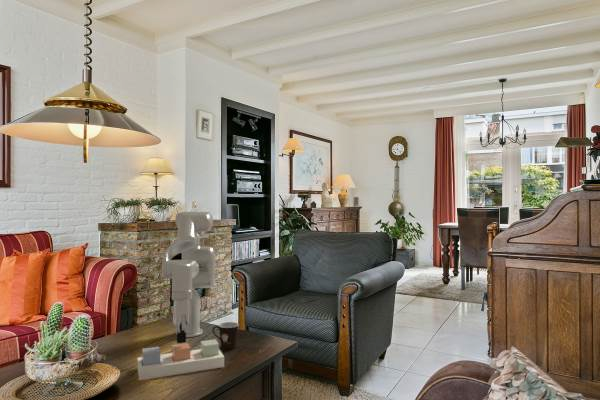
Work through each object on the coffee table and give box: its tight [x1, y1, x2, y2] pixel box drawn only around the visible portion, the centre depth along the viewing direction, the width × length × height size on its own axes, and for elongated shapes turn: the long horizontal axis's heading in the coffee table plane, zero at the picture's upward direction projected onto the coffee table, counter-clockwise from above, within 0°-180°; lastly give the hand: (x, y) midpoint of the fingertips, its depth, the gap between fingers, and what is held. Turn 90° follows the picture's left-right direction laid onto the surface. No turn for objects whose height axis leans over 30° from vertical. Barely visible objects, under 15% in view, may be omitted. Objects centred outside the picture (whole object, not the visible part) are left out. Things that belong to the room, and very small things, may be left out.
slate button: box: [141, 346, 161, 366], centre depth 154 cm, size 6×6×5 cm
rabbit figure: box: [96, 353, 107, 363], centre depth 163 cm, size 6×6×15 cm
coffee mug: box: [212, 321, 239, 351], centre depth 182 cm, size 12×9×10 cm
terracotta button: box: [171, 342, 192, 361], centre depth 158 cm, size 6×6×5 cm
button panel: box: [136, 348, 225, 381], centre depth 158 cm, size 12×31×4 cm, turn 115°
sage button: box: [200, 339, 220, 357], centre depth 163 cm, size 6×6×5 cm
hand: (181, 342), depth 158 cm, fingers closed
